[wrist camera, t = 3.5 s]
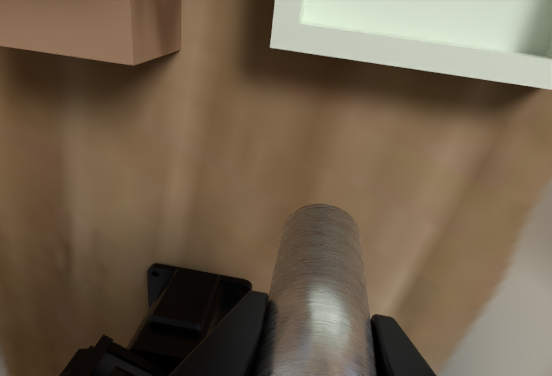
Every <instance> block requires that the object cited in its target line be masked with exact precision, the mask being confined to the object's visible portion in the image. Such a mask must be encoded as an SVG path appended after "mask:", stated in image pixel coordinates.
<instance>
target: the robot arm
mask: <svg viewBox="0 0 552 376" xmlns="http://www.w3.org/2000/svg"><path fill="white" fill-rule="evenodd" d="M155 271H157V272H158V273H157V272H155ZM241 287H245V288H246V289H243V288H241ZM148 297H149V311H148V312H147V314H146V316H145V317H144V319H143V321H142V322H141V324H140V326H139V328H138V329H137V331H136V333H135V334H134V336H133V338H132V340H131V341H130V343H129V345H128V346H127V348H124V347H122V346H121V345H119V344H117V343H115V342H113V339H111V338H109V337H107V336H105V335H103V336H102V337H101V339H100V340H99V342H98V343H97V344H96V346H95V347H93V346H90V347H89V349H79V350H78V351H77V352H76V354H75V355H74V356H73V358H72V359H71V361H70V362H69V363H68V365H67V366H66V368H65V369H64V370H63V372H62V373H61V374H60V376H252V374H253V370H254V365H255V361H256V357H257V353H258V348H259V343H260V338H261V334H262V329H263V324H264V319H265V314H266V309H267V305H268V298H269V296H268V294H267V293H263V292H258V291H252V284H251V283H250V282H249V281H248V280H245V279H239V278H234V277H228V276H223V275H217V274H212V273H207V272H201V271H196V270H190V269H185V268H180V267H174V266H169V265H163V264H158V263H155V264H152V265H151V267H150V268H149V270H148ZM371 328H372V336H373V344H374V352H375V360H376V368H377V376H436V374H435V373H434V372H433V370H432V369H431V368H430V366H429V365H428V364H427V362H426V361H425V360H424V358H423V357H422V356H421V354H420V353H419V352H418V350H417V349H416V347H415V346H414V345H413V343H412V342H411V341H410V339H409V338H408V337H407V335H406V334H405V333H404V331H403V330H402V329H401V327H400V326H399V325H398V323H397V322H396V321H395V319H393V318H392V317H389V316H383V315H378V314H375V315H373V316H372V318H371Z"/></svg>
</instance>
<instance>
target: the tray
mask: <svg viewBox="0 0 552 376" xmlns="http://www.w3.org/2000/svg"><path fill="white" fill-rule="evenodd" d="M270 48H275V49H282V50H289V51H296V52H302V53H309V54H316V55H322V56H329V57H336V58H343V59H349V60H356V61H363V62H370V63H376V64H383V65H390V66H396V67H403V68H410V69H417V70H423V71H430V72H437V73H443V74H450V75H457V76H464V77H470V78H477V79H484V80H490V81H497V82H504V83H511V84H517V85H524V86H531V87H537V88H544V89H551V90H552V0H275V6H274V15H273V24H272V33H271V42H270Z"/></svg>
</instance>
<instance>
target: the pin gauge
mask: <svg viewBox="0 0 552 376" xmlns="http://www.w3.org/2000/svg"><path fill="white" fill-rule="evenodd" d="M252 376H377V368H376V360H375V352H374V344H373V336H372V328H371V320H370V312H369V304H368V296H367V288H366V280H365V272H364V264H363V256H362V249H361V241H360V233H359V229H358V226H357V224H356V222H355V221H354V219H353V218H352V217H351V216H350V215H349V214H348V213H347V212H345V211H344V210H342V209H340V208H338V207H335V206H332V205H328V204H312V205H307V206H304V207H302V208H300V209H298V210H296V211H295V212H293V213H292V214H291V215H290V216H289V218H288V219H287V220H286V222H285V224H284V226H283V230H282V235H281V240H280V244H279V249H278V254H277V259H276V264H275V268H274V273H273V278H272V283H271V288H270V292H269V298H268V305H267V309H266V314H265V319H264V324H263V329H262V334H261V338H260V343H259V348H258V353H257V357H256V361H255V365H254V370H253V374H252Z"/></svg>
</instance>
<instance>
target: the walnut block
mask: <svg viewBox="0 0 552 376" xmlns="http://www.w3.org/2000/svg"><path fill="white" fill-rule="evenodd" d="M0 46H5V47H12V48H18V49H25V50H32V51H39V52H45V53H52V54H59V55H65V56H72V57H79V58H86V59H92V60H99V61H106V62H113V63H119V64H126V65H133V66H134V65H137V64H140V63H143V62H146V61H149V60H152V59H155V58H158V57H161V56H164V55H167V54H170V53H173V52H176V51H179V50H181V0H0Z"/></svg>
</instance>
